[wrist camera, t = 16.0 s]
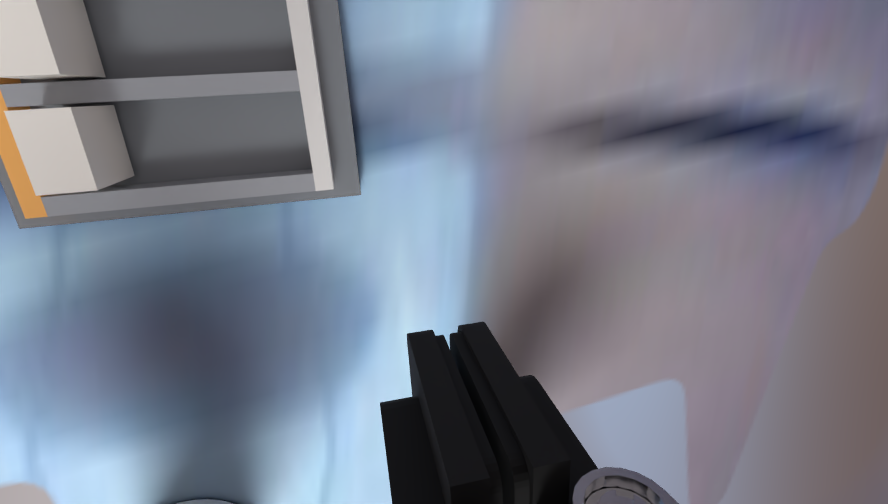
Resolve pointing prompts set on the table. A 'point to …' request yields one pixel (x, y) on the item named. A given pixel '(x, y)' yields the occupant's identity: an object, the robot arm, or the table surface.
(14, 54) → the tab
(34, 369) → the table surface
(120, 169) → the tab
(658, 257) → the table surface
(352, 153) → the switch board
